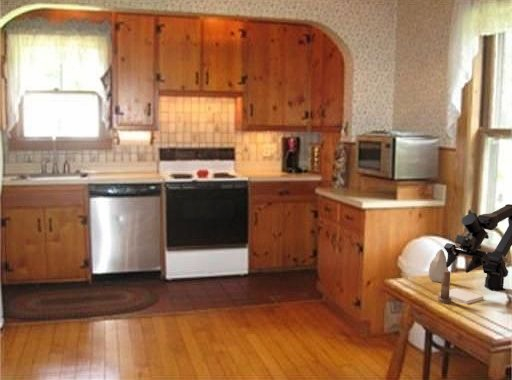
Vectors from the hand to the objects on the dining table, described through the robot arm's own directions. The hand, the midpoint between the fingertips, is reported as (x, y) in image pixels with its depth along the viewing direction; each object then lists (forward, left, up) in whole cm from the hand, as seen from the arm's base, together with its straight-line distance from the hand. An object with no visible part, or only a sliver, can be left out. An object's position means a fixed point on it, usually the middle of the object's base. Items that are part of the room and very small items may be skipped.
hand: (456, 269), depth 220 cm
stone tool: (-3, -25, -13) cm, 28 cm away
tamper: (+5, +3, -12) cm, 14 cm away
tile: (-4, -2, -12) cm, 13 cm away
